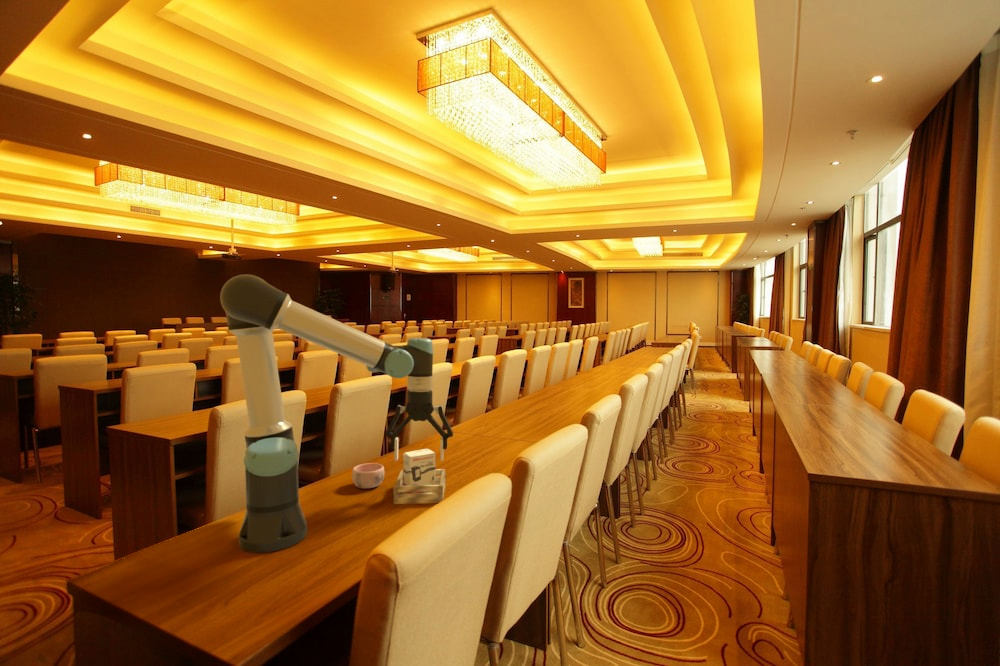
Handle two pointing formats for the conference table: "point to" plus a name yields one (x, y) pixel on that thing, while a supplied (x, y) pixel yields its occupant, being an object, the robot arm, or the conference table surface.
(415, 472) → the ink box
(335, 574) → the conference table surface
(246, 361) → the robot arm
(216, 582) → the conference table surface
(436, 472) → the crate
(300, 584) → the conference table surface
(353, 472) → the pink bowl
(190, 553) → the conference table surface
